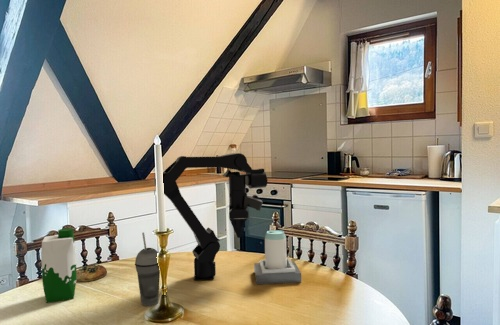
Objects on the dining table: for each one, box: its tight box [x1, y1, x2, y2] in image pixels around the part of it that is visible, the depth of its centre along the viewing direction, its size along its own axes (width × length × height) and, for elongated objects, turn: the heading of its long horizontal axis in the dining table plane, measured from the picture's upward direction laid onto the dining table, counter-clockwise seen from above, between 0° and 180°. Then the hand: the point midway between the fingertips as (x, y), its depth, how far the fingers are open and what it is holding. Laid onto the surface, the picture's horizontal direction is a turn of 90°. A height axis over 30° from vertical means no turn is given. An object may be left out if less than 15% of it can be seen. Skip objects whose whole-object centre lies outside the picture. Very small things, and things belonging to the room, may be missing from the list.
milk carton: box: [40, 227, 77, 304], centre depth 110 cm, size 9×9×20 cm
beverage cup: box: [134, 232, 161, 307], centre depth 104 cm, size 7×7×20 cm
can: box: [264, 229, 288, 269], centre depth 122 cm, size 7×7×12 cm
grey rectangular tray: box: [253, 258, 302, 285], centre depth 122 cm, size 14×12×4 cm
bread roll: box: [76, 264, 108, 283], centre depth 128 cm, size 11×11×5 cm
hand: (238, 234), depth 128 cm, fingers open, 9 cm apart
